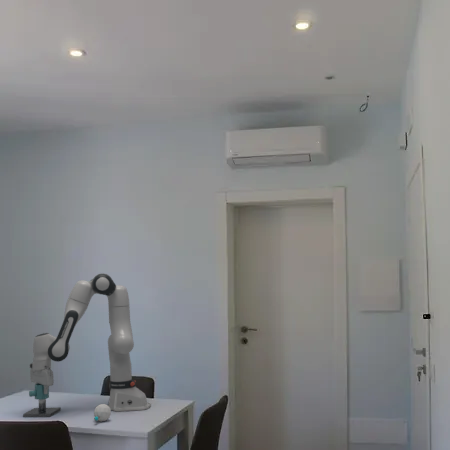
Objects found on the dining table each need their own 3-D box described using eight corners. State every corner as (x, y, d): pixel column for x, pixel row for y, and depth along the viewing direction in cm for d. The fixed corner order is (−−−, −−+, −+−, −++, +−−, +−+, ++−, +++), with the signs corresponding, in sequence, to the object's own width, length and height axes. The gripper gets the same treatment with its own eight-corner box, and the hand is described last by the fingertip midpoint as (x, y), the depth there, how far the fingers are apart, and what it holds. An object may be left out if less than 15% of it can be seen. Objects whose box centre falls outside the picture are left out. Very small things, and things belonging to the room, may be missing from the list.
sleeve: (45, 396, 306) (45, 382, 306) (50, 397, 301) (50, 384, 302) (27, 399, 300) (27, 385, 300) (32, 400, 295) (32, 386, 295)
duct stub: (60, 410, 307) (60, 387, 308) (50, 416, 293) (50, 393, 294) (34, 410, 308) (34, 388, 309) (23, 417, 294) (23, 393, 295)
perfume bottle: (116, 411, 285) (107, 420, 273) (104, 420, 286) (94, 430, 275) (107, 398, 286) (97, 407, 274) (94, 408, 287) (84, 417, 275)
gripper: (56, 366, 297) (56, 394, 296) (39, 362, 312) (39, 389, 311) (44, 368, 293) (44, 396, 292) (28, 364, 308) (28, 391, 307)
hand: (42, 392), depth 302 cm, fingers closed on sleeve, 6 cm apart
